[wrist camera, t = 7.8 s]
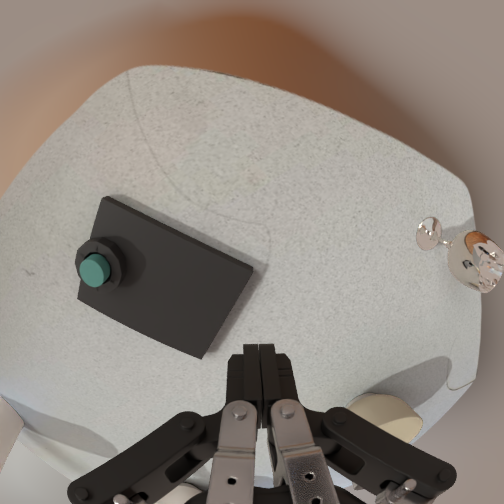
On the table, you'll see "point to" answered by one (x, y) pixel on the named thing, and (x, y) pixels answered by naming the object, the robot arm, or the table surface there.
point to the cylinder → (8, 429)
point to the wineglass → (466, 255)
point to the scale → (160, 279)
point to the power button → (95, 270)
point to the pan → (179, 494)
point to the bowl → (388, 414)
